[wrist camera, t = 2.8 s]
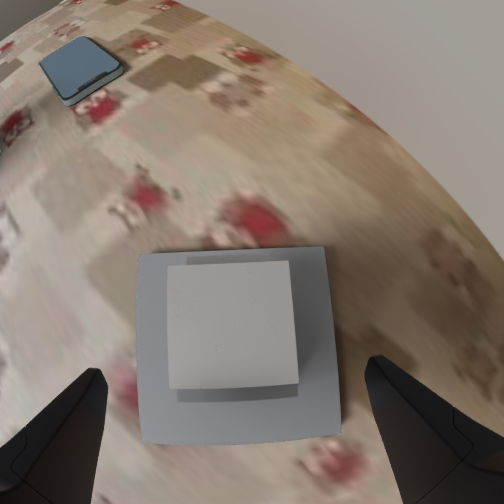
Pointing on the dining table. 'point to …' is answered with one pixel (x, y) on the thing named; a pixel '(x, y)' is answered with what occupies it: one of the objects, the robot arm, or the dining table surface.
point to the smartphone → (79, 69)
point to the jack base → (248, 398)
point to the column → (230, 323)
